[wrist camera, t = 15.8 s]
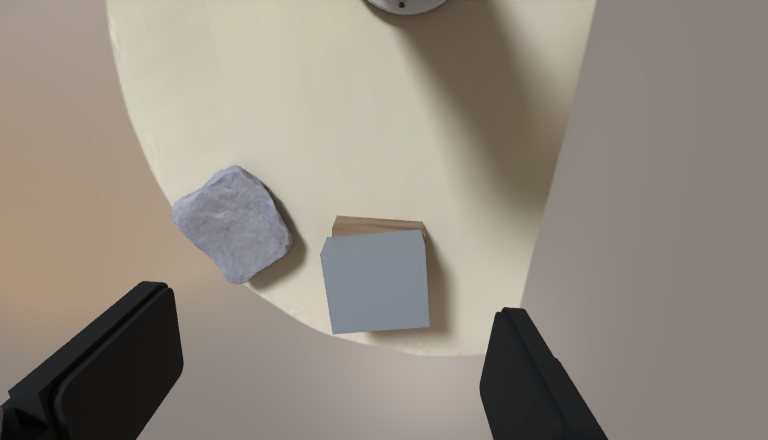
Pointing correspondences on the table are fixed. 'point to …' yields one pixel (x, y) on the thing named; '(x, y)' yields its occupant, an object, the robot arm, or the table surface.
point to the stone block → (234, 224)
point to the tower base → (372, 226)
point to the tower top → (376, 281)
